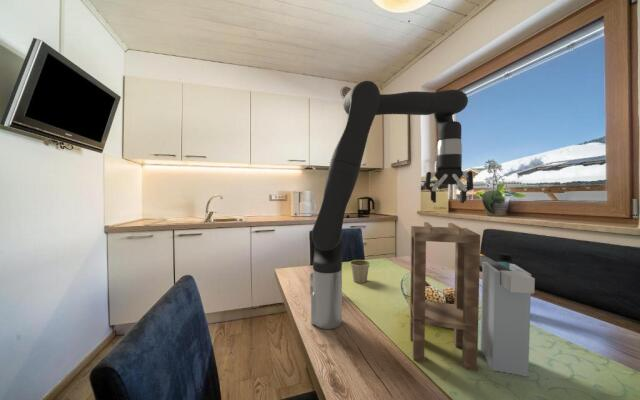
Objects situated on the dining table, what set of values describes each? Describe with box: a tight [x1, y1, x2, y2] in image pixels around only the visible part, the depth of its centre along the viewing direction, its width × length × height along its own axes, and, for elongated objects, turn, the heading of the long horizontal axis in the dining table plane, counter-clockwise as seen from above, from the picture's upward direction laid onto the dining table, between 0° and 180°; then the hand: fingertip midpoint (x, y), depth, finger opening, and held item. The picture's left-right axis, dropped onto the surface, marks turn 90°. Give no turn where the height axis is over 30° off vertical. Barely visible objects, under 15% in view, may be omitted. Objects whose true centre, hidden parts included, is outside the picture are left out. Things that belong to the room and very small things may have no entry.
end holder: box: [480, 262, 532, 378], centre depth 61 cm, size 7×8×24 cm
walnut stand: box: [409, 221, 481, 372], centre depth 65 cm, size 14×11×33 cm
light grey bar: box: [480, 253, 536, 294], centre depth 63 cm, size 4×20×3 cm, turn 170°
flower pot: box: [349, 259, 371, 284], centre depth 116 cm, size 9×9×9 cm
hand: (447, 202), depth 84 cm, fingers open, 8 cm apart
